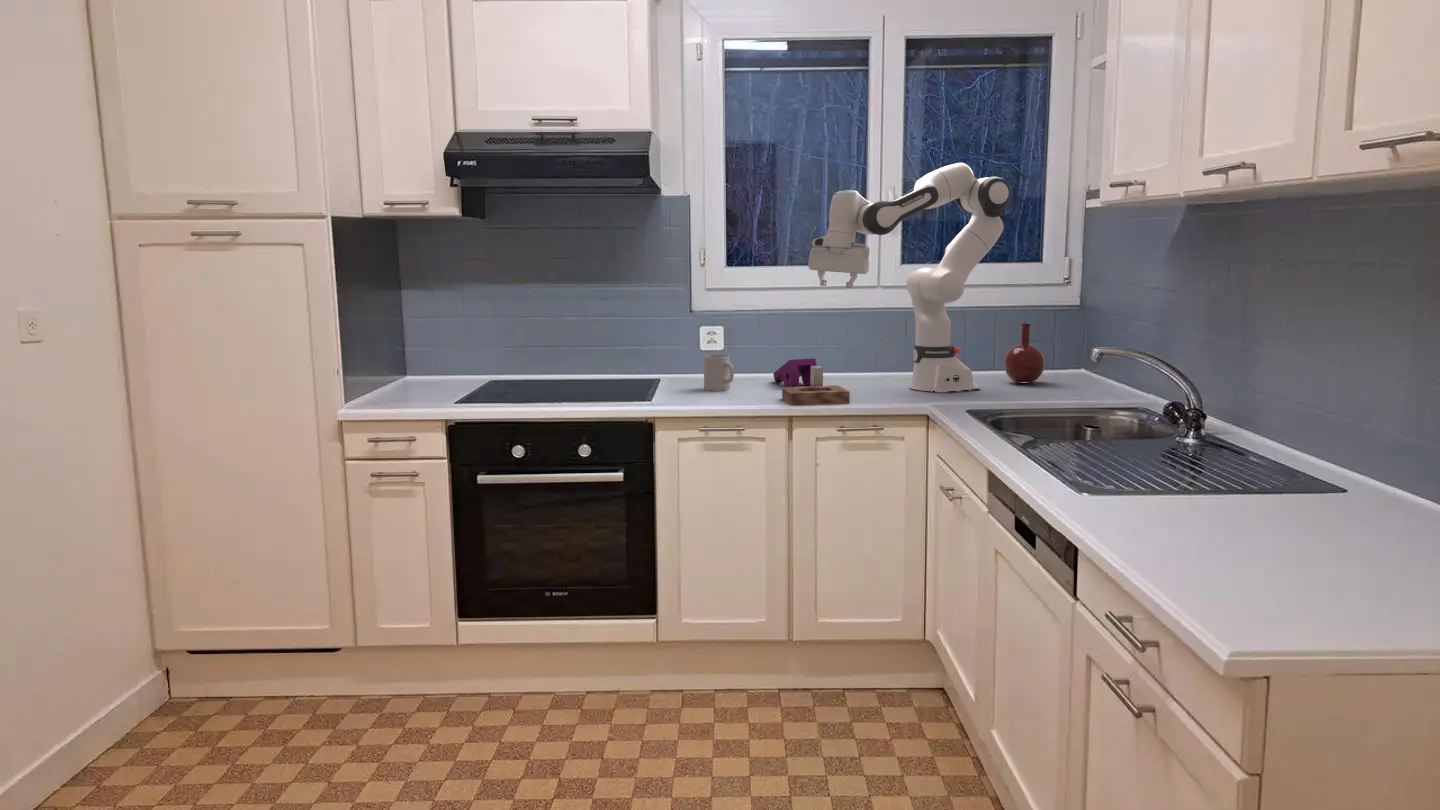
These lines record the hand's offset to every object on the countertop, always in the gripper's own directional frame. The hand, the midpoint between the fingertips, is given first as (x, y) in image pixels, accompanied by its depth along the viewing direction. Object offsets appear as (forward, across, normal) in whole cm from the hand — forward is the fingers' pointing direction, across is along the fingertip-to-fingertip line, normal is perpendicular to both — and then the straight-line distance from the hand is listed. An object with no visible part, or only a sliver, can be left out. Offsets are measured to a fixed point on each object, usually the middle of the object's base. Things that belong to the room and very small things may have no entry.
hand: (835, 286), depth 309 cm
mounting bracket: (+34, +19, -11) cm, 40 cm away
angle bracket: (+35, +3, +6) cm, 35 cm away
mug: (+37, +32, +12) cm, 51 cm away
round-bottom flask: (+27, -44, -56) cm, 75 cm away
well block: (+35, -4, +13) cm, 38 cm away
